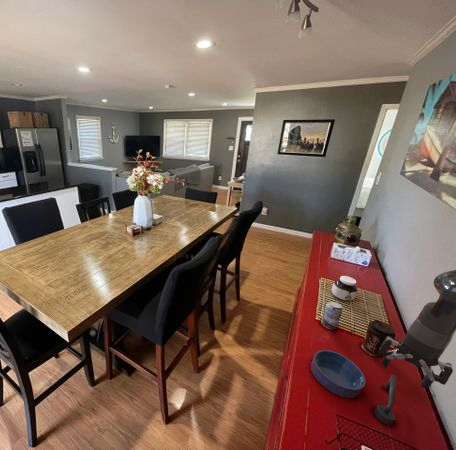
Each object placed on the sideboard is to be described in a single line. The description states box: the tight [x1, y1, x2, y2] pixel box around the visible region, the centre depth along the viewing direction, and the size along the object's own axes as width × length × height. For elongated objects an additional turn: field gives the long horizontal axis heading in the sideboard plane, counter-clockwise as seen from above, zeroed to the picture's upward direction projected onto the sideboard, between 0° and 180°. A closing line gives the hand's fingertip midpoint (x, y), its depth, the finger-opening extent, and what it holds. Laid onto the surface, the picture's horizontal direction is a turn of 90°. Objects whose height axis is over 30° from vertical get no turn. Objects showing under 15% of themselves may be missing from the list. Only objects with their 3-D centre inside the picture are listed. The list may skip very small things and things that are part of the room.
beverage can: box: [320, 301, 343, 330], centre depth 109 cm, size 6×7×12 cm
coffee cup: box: [361, 319, 397, 357], centre depth 97 cm, size 9×8×13 cm
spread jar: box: [331, 275, 358, 302], centre depth 130 cm, size 12×11×12 cm
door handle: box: [373, 374, 398, 426], centre depth 79 cm, size 15×4×7 cm, turn 134°
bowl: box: [310, 349, 366, 399], centre depth 87 cm, size 15×15×5 cm
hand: (403, 375), depth 74 cm, fingers open, 8 cm apart
